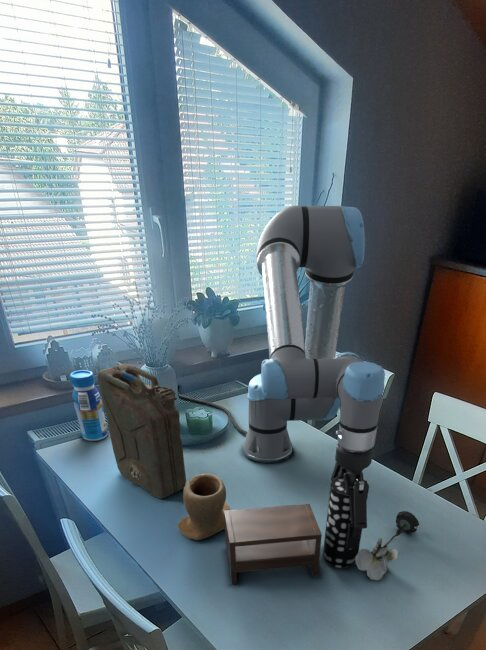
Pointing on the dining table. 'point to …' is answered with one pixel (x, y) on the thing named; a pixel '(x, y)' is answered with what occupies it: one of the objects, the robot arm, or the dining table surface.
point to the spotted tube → (338, 527)
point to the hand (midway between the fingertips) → (343, 529)
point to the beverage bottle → (88, 406)
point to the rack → (272, 539)
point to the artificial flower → (385, 548)
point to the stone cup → (204, 507)
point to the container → (143, 429)
